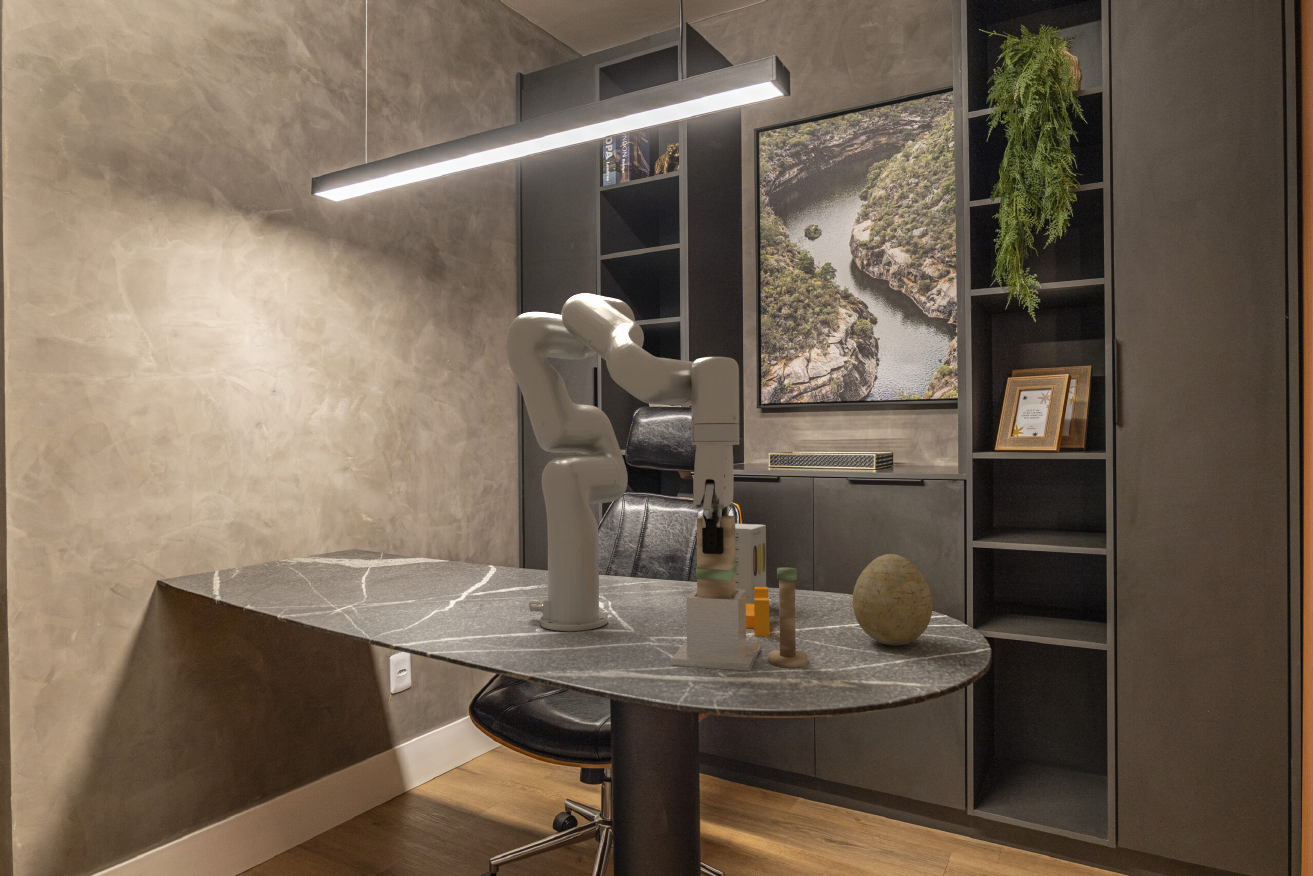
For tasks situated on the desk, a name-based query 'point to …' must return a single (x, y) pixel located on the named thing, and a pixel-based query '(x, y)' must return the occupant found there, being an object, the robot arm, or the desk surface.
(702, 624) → the sleeve
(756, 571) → the supplement box
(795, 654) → the marker post
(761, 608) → the pipe clamp
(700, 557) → the column
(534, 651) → the desk surface
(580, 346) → the robot arm
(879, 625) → the fossilized egg
